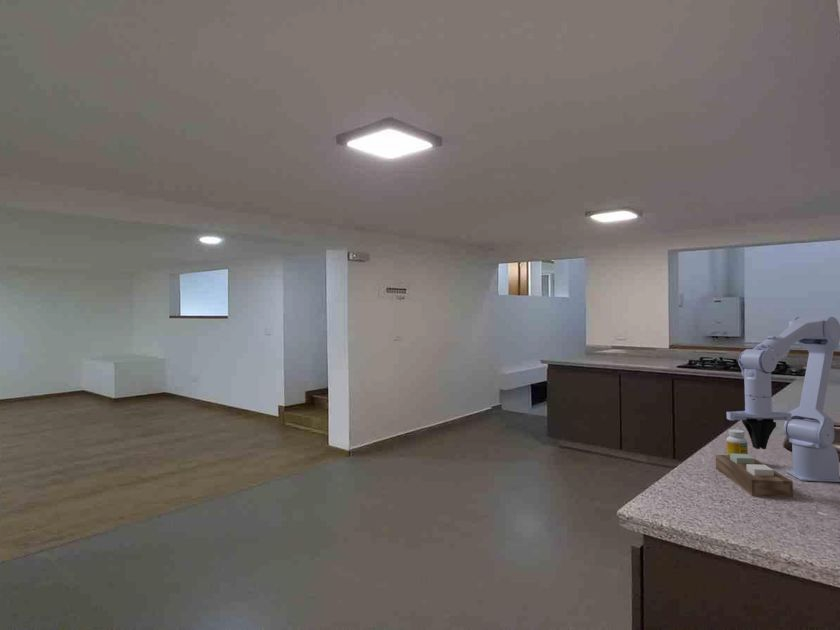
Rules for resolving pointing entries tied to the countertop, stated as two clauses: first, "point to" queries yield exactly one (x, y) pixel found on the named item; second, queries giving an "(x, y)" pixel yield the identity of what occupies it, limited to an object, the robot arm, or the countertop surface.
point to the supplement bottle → (736, 442)
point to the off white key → (759, 470)
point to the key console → (755, 479)
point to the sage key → (742, 459)
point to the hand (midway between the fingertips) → (759, 448)
